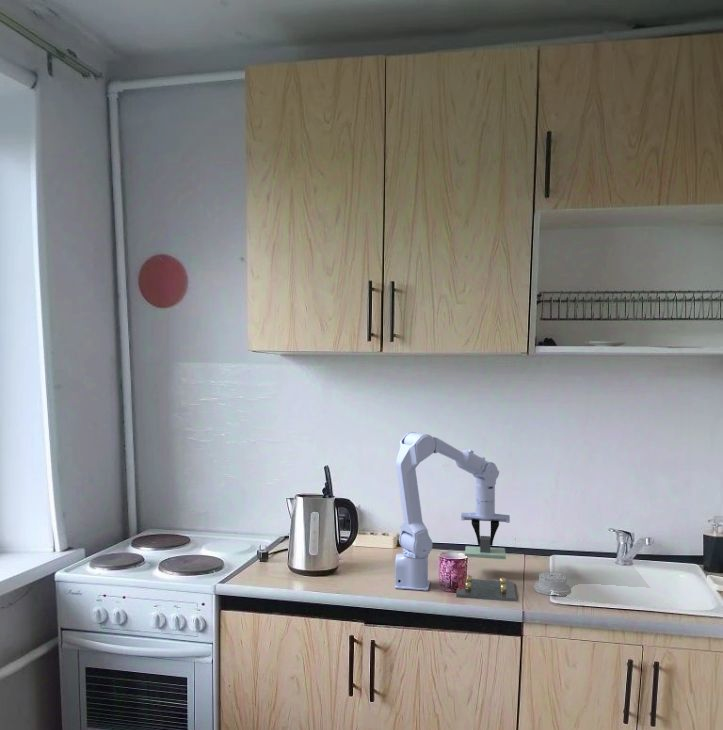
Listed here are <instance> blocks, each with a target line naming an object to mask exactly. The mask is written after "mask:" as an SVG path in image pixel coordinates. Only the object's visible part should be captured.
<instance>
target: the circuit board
mask: <svg viewBox="0 0 723 730" xmlns="http://www.w3.org/2000/svg"><path fill="white" fill-rule="evenodd" d="M465 556H467V557H466V558H477V559H478V558H480V559H481V558H482V559H495V560H506V558H507V557H506V556H507V555H506V548H504V547H492V546H490V535H480V545H479V546H473V545H472V546H470V545H469V546H468V545H466V546H465V550H464V557H465Z"/></svg>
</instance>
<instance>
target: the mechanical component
mask: <svg viewBox="0 0 723 730" xmlns="http://www.w3.org/2000/svg"><path fill="white" fill-rule="evenodd" d="M534 590H535V591H536V592H537V593H539V594H542V595H544V596H545V595H546V596H550V594H551V592H552V591H551V590H553V591H554V593H556V594H559V595H561V596H560V597H566V596H569V595H571V593H572V586H570V585H569V584H567V577H566V575H563V574H562V573H559V572H550V571H549V572H548V571H546V572H541V573H540V574H538V581H536V582H535V583H534Z"/></svg>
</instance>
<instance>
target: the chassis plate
mask: <svg viewBox="0 0 723 730" xmlns="http://www.w3.org/2000/svg"><path fill="white" fill-rule="evenodd" d="M466 576H467V582H465V589H462V590H457V589H456V591H455V592H456V593H455V597H456V598H461V599H462V598H463V599H478V600H493V601H506V602H517V596H516V591H515V584H514V581H508V580H507V581H506V577H499V580H495V579H493V580H492V579H480V578H472V575H466Z"/></svg>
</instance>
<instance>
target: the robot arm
mask: <svg viewBox="0 0 723 730" xmlns="http://www.w3.org/2000/svg"><path fill="white" fill-rule="evenodd" d="M399 444H400V446H399V451H398V454H397V458H396V461H395V465H396V466H395V467H396V475H397V481H398V483H397V484H398V488H399V495H400V503H401V511H402V518H403V523H401V525H400V526H399V529H400V532H399V533H400V534H399V538H398V543H399V545H400V547H401V548H402V553H396V555H395V560H394V561H395V563H394V567H395V568H394V573H395V574H394V588H395V589H398V590H399V589H400V590H401V589H403V590H415V591H416V590H417V591H429V587H430V584H431V579H429V578H428V577H429V574H428V572H429V555H430V553H432V550H433V541H432V538H431V537H430V535H429V531H428V529H427V526H426V524H425V523H424V522H423V515H422V508H421V499H420V491H419V487H418V478H417V470H416V468H417V467H418V466H419V464H420V463H422V462H423V461H424V460H426V459H427V458H428V457H430V456H431V455H433V454H440V455H443V456H445V457H447V458H449V459H451V460H453V461H455V464H456V466H457V467H458V468H459V469H461V470H463V471H465V472H468V473H469V474H471V475H472V476H473V477H474V478H475V512H461V515H460V521H471V526H472V528H473V531H474V533H475V535H476V540H477V545H478V546H480V536H481V533H480V531H481V529H480V527H481V526H480V525H481V524H480V522H490V535H489V536H490V547H492V546H493V544H494V539H495V536H496V533H497V531H498V529H499V526H500V523H503V522H504V523H507V524H508V523H510V522H511V520H510V518H511V517H510V515H509V514H501V513H500V514H499V513H496V511H495V510H496V503H495V502H496V484H497V479H498V477H499V475H500V470H498V467H497V466H496V463H494V462H492V461H487V460H486V457H484V456H479V455H476V454H475V453H474V452H475V451H474V450H472V449H463V450H458V449H457V448H455V447H454V446H452V445H450V444H449V443H447V442H446V441H444V440H442V439H440V438H438V437H435V436H432V435H430V434H424V433H417V432H413V431H409V432H408V433H406V434H404V436H403V437H402V438H401V440H399Z"/></svg>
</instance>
